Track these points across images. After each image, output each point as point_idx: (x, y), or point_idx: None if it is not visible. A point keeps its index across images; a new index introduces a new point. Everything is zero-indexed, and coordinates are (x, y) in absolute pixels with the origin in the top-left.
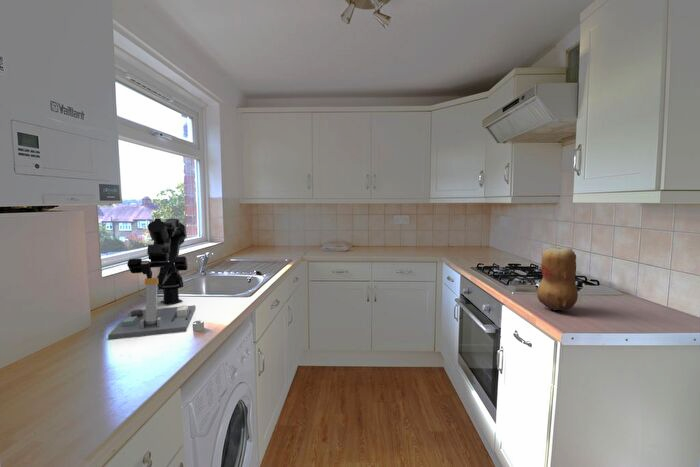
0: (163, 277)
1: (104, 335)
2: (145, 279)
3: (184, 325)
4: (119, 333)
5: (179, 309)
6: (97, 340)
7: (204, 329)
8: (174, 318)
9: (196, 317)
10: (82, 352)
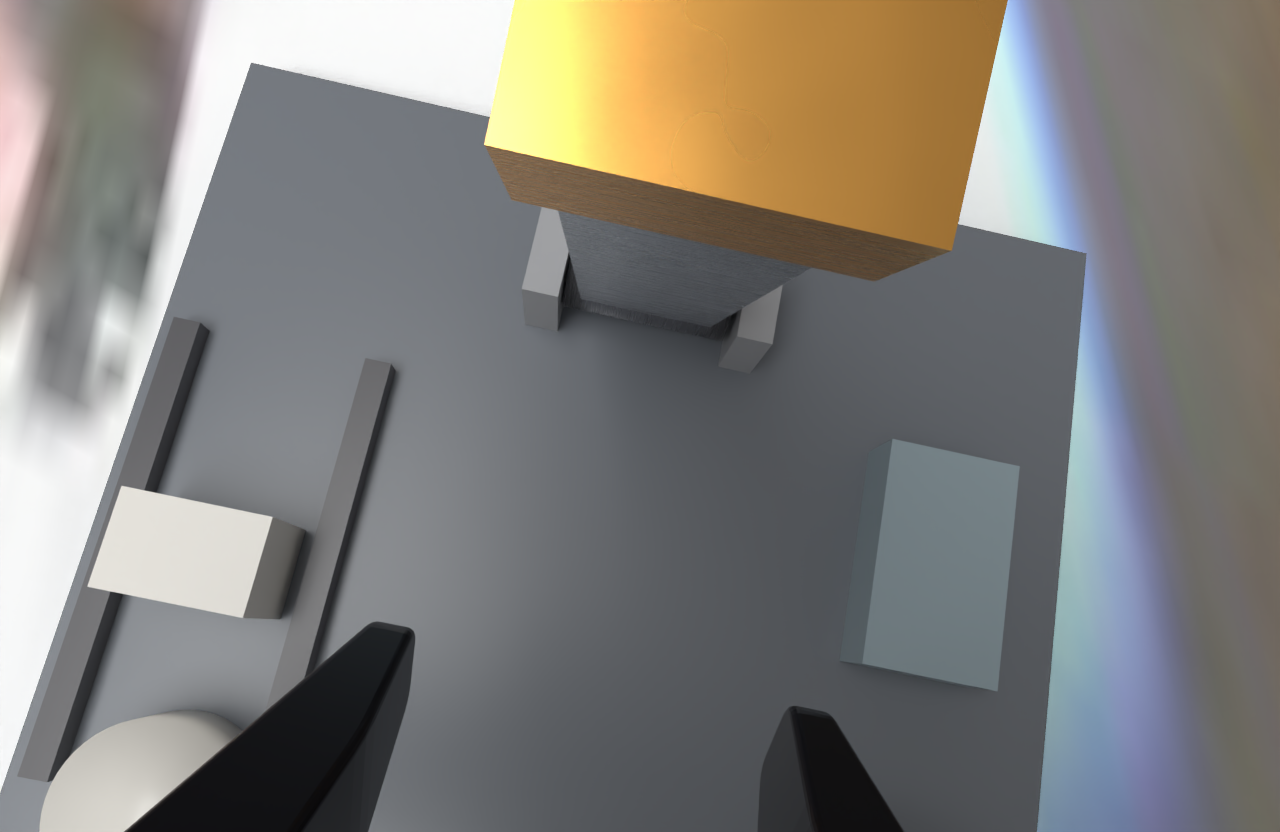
0: (255, 772)
1: (1129, 438)
2: (974, 6)
3: (260, 117)
4: (976, 235)
5: (220, 546)
6: (1157, 309)
7: (61, 44)
8: (347, 430)
9: (36, 580)
10: (1197, 55)
